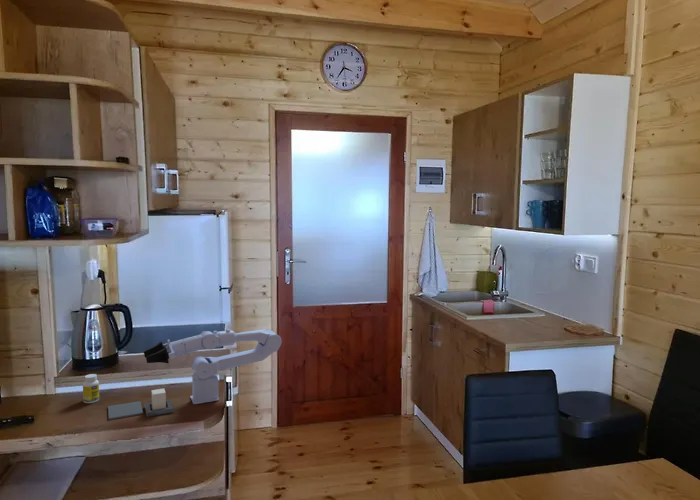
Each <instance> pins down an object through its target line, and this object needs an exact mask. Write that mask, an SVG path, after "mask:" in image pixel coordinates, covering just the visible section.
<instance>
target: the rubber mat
mask: <svg viewBox="0 0 700 500" xmlns="http://www.w3.org/2000/svg"><path fill="white" fill-rule="evenodd" d="M107 409H108V413H107V414H108V421H111V420H117V419H124V418H130V417H134V416H140V415H144V411H143V407H142V402H141V400H139V401H133V402H126V403H120V404H114V405H107Z"/></svg>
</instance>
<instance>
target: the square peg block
mask: <svg viewBox="0 0 700 500" xmlns="http://www.w3.org/2000/svg"><path fill="white" fill-rule="evenodd" d="M150 392H151V402H152V408H151V409H152V410H157V409H163V408H167V405H166V400H167V395H166V394H167V393H166V390H165V387H164V388H157V389H151V391H150Z"/></svg>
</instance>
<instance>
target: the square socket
mask: <svg viewBox="0 0 700 500" xmlns="http://www.w3.org/2000/svg"><path fill="white" fill-rule="evenodd" d="M151 409H152V401H150V402H145V403H144V411H145V415H146V418H149V417H156V416H161V415H165V414H167V415H168V414H172V413H174V412H175V411H174V406H173V402H172V400H171V398H170V399H166V408H163V409H157V410H151Z"/></svg>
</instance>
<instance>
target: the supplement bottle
mask: <svg viewBox="0 0 700 500" xmlns="http://www.w3.org/2000/svg"><path fill="white" fill-rule="evenodd" d="M97 376H98V375H97V373H89V374H86V375H85V376H84V382H83V383H82V401H83V402H82V403H85V404H93V403H96V402H98V401H100V381H99V380H98V377H97Z"/></svg>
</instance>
